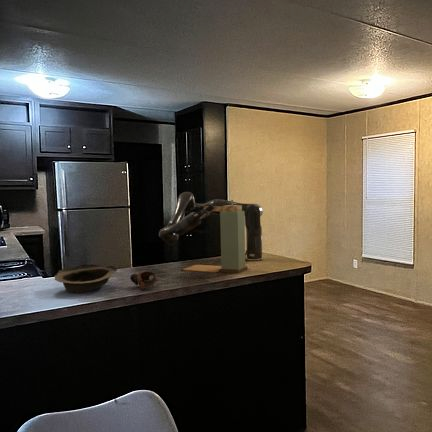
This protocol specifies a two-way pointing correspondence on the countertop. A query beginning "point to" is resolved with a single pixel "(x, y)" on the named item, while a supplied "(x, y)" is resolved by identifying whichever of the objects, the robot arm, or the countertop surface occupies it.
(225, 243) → the stand
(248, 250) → the robot arm
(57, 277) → the stone bowl
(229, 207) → the tan bread loaf
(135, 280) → the pottery mug
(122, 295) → the countertop surface
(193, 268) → the mat
